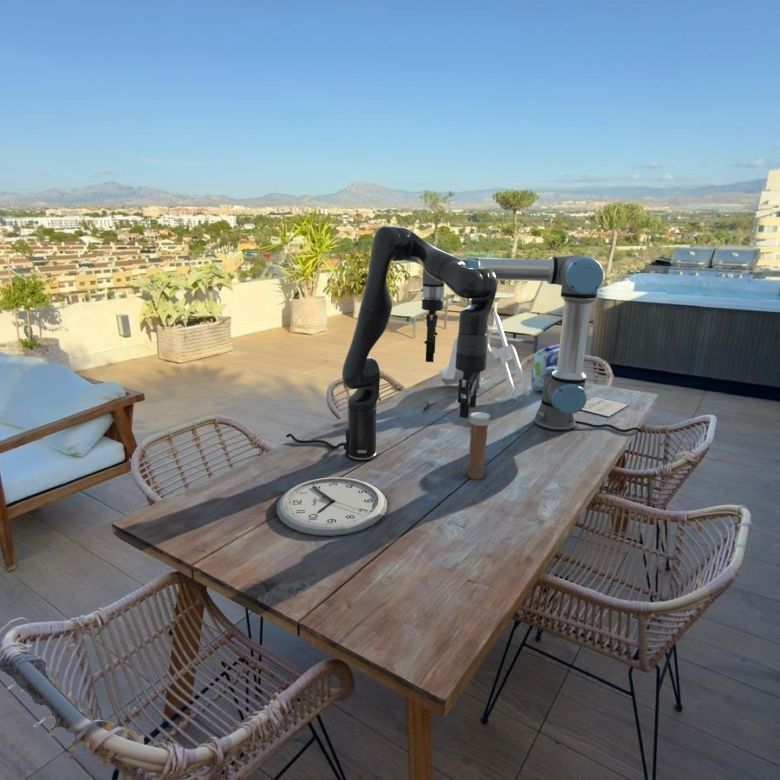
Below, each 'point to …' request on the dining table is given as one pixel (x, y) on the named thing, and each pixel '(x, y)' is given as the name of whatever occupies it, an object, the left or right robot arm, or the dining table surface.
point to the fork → (430, 403)
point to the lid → (479, 418)
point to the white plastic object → (489, 363)
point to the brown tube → (477, 451)
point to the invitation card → (603, 406)
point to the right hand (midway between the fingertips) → (430, 357)
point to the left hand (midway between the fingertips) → (467, 412)
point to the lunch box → (543, 365)
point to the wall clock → (331, 506)
